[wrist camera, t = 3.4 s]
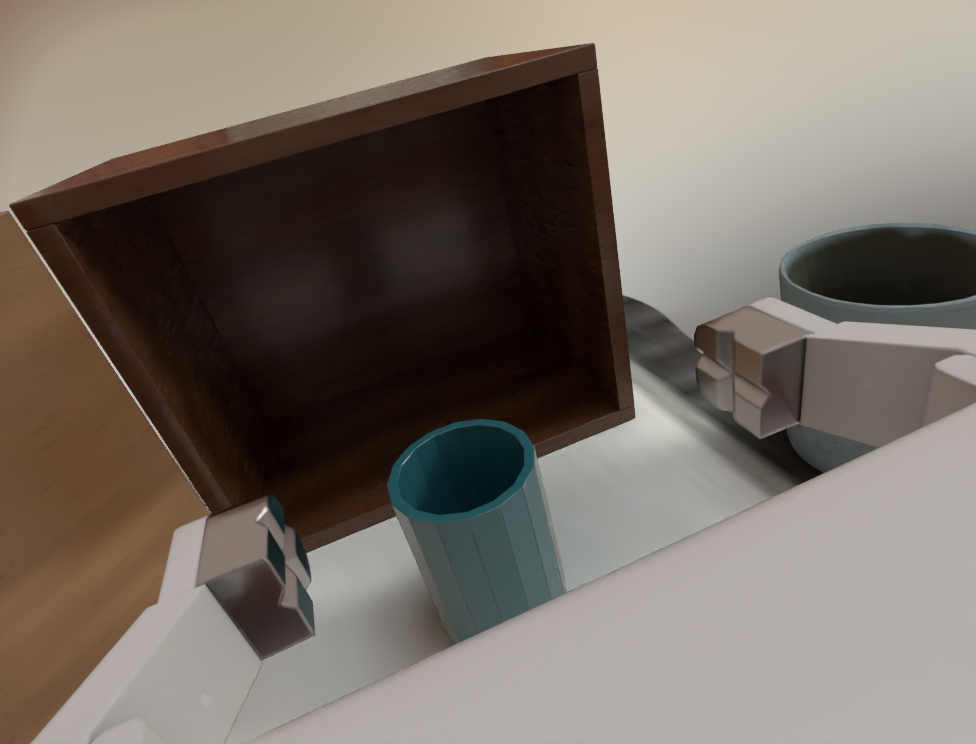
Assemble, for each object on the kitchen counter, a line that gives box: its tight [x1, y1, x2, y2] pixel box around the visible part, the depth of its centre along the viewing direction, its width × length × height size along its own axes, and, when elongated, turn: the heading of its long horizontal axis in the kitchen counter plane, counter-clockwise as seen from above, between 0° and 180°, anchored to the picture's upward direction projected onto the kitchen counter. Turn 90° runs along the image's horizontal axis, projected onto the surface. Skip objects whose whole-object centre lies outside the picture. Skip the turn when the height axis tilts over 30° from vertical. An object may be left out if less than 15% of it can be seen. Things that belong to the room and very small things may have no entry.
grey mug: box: [779, 223, 976, 473], centre depth 32 cm, size 10×10×12 cm
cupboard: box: [9, 43, 635, 552], centre depth 40 cm, size 18×28×24 cm, turn 110°
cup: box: [387, 419, 567, 645], centre depth 28 cm, size 7×7×10 cm
